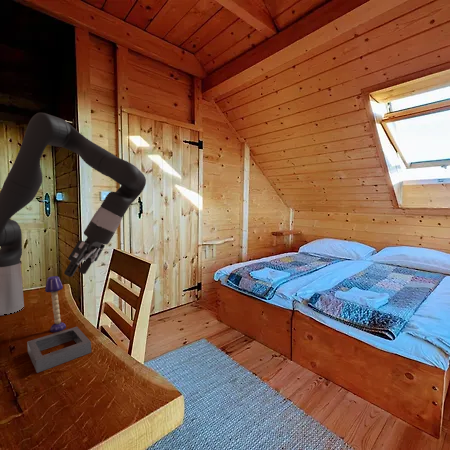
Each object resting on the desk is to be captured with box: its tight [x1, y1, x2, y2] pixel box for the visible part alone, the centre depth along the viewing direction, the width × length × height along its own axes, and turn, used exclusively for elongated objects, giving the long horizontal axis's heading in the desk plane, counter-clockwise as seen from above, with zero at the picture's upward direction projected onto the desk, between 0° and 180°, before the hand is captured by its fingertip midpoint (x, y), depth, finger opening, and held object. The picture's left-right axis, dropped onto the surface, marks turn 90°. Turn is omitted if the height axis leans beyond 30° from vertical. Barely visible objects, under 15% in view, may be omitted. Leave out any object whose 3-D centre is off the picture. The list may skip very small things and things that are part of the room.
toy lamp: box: [44, 275, 67, 333], centre depth 83 cm, size 5×5×17 cm
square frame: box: [26, 326, 92, 374], centre depth 71 cm, size 12×12×3 cm
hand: (74, 274), depth 78 cm, fingers open, 8 cm apart
